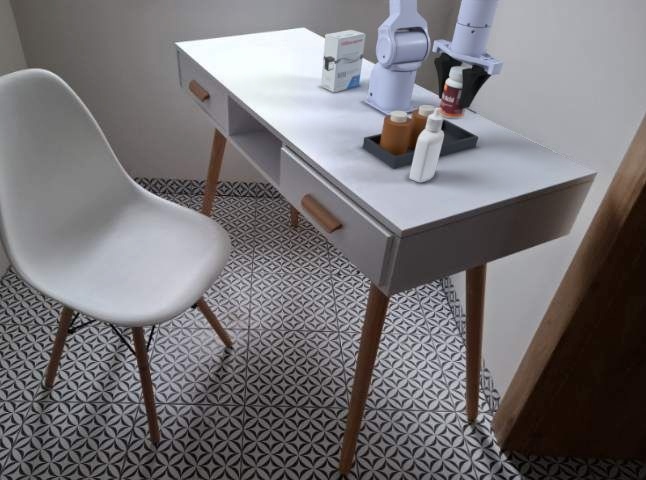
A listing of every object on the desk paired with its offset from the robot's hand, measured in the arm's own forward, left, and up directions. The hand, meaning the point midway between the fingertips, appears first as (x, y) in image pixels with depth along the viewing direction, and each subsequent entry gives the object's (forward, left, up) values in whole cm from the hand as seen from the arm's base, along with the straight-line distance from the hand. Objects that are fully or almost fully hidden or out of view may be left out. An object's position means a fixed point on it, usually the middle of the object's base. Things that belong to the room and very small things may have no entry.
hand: (453, 102), depth 96 cm
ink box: (-34, -1, -8) cm, 35 cm away
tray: (0, -6, -8) cm, 10 cm away
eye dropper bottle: (+9, -14, -8) cm, 18 cm away
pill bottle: (0, 0, -3) cm, 3 cm away
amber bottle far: (0, -13, -7) cm, 15 cm away
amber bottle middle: (0, -6, -7) cm, 10 cm away
